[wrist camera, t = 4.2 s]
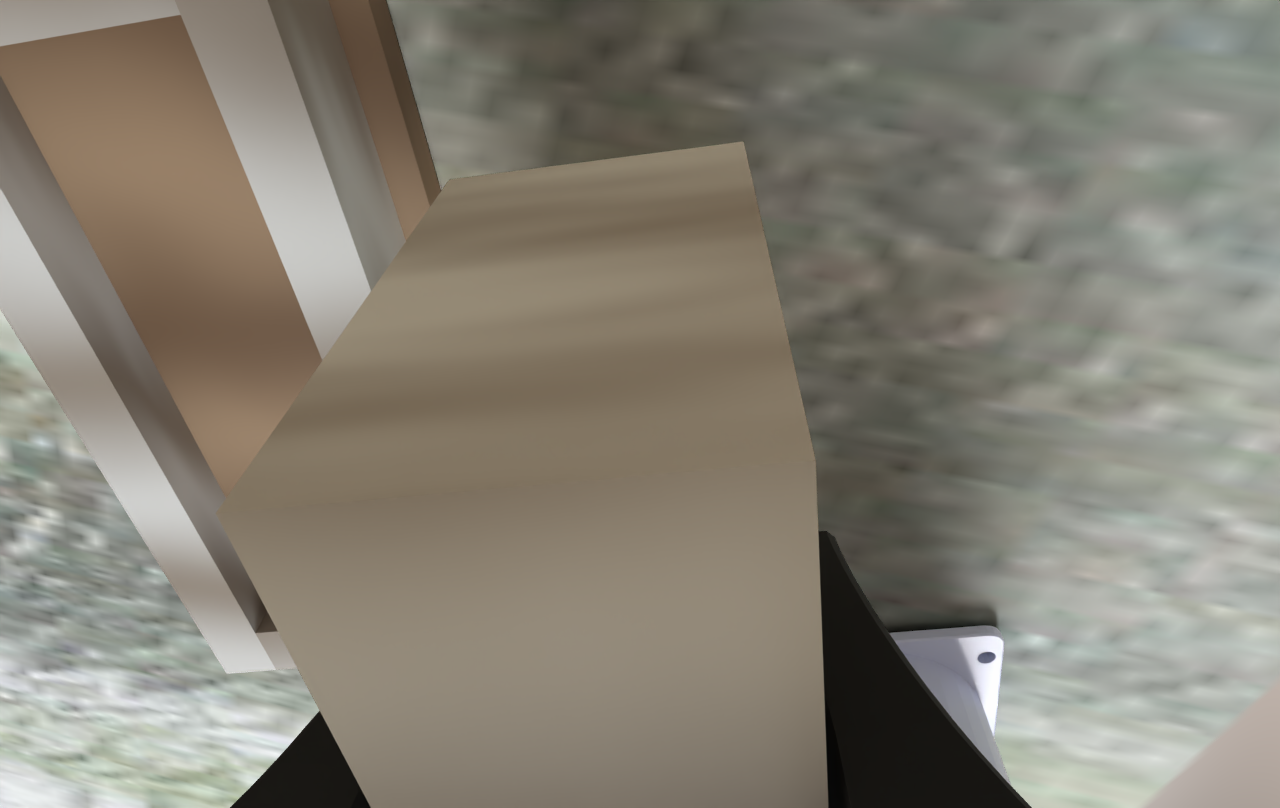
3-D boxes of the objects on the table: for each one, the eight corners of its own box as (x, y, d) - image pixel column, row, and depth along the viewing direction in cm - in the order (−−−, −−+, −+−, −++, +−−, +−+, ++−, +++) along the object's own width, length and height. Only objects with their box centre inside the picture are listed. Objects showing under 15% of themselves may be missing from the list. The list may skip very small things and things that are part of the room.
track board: (553, 582, 25) (537, 678, 22) (239, 610, 26) (185, 705, 24) (351, -119, 16) (277, -112, 13) (-127, -28, 17) (-296, -3, 14)
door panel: (781, 656, 17) (839, 1100, 11) (579, 669, 17) (526, 1102, 11) (743, 141, 11) (814, 460, 5) (449, 179, 12) (214, 513, 6)
